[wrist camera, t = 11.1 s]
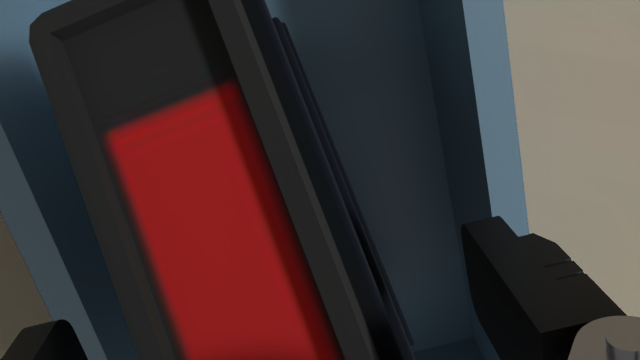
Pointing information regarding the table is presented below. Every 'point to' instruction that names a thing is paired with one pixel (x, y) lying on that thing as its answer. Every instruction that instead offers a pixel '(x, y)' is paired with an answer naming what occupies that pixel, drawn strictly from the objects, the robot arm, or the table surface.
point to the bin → (352, 146)
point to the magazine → (214, 183)
